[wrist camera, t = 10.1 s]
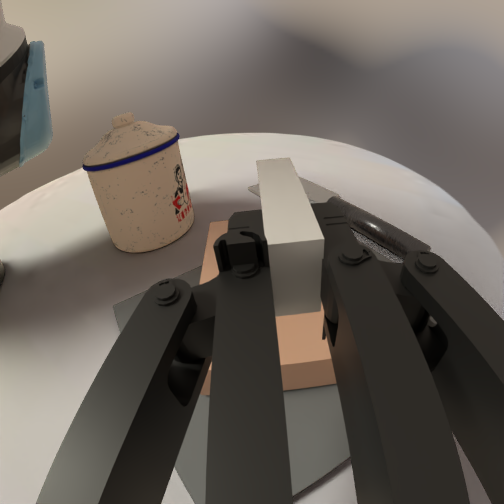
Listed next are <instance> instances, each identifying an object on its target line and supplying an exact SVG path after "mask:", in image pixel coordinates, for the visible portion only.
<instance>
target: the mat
mask: <svg viewBox="0 0 504 504" xmlns="http://www.w3.org/2000/svg"><path fill="white" fill-rule="evenodd" d="M357 241H358V240H357ZM358 243H359V244H360V245H363V246H365V247H367V248H369V249H370V250H371V251H372V252H373V253H374V254H375V256H376V257H377V259H378V260H380V261H385V262H392V261H391V260H389V259H387V258H386V257H384V256H383V255H381V254H380V253H378V252H376V251H375V250H373V249H372V248H370V247H368V246H367V245H365V244H363V243H362V242H360V241H358ZM393 263H394V262H393ZM201 272H202V266H200V267H198V268H196V269H194V270H191V271H189V272H187V273H185V274H182V275H180V276H178V277H176V278H177V279H181V280H185V281H186V282H187V283H188V284H190V287H194V286H197V285H199V284H200V278H201ZM147 291H148V290H147ZM147 291H145V292H143V293H140V294H138V295H136V296H134V297H131V298H129V299H127V300H125V301H123V302H120V303H118V304H116V305H114V306H113V308H114V312H115V316H116V319H117V323H118V326H119V330H120V333H121V332H122V330H123V329H124V327H125V325H126V324H127V322H128V320H129V319H130V317H131V315H132V314H133V312H134V310H135V309H136V307H137V306H138V304H139V302H140V301H141V299H142V298H143V296H144V294H145V293H146V292H147ZM430 320H431V321H432V322H433V323H434V324H437V322H436V321H435V320H434V319H433V318H432V316H431V317H430ZM283 394H284V404H285V415H286V425H287V436H288V447H289V459H290V470H291V483H292V495H293V496H295V495H296V494H298V493H299V492H301V491H303V490H304V489H306V488H307V487H309V486H310V485H312V484H313V483H315V482H316V481H318V480H319V479H321V478H322V477H324V476H325V475H327V474H328V473H329V472H331V471H332V470H334V469H335V468H336V467H338V466H339V465H340V464H342V463H343V462H344V461H346V460H347V459H348V458H349V457H350V451H349V445H348V439H347V434H346V428H345V423H344V417H343V412H342V407H341V402H340V397H339V392H338V387H337V383H336V384H330V385H323V386H316V387H309V388H301V389H293V390H284V391H283ZM209 398H210V395H201V394H200V395H199V398H198V401H197V404H196V407H195V409H194V412H193V415H192V418H191V421H190V423H189V426H188V429H187V432H186V435H185V437H184V440H183V443H182V446H181V449H180V452H179V454H178V457H177V460H176V463H175V466H174V467H175V469H176V471H177V473H178V475H179V476H180V478H181V480H182V482H183V484H184V485H185V487H186V489H187V491H188V493H189V494H190V496H191V498H192V499H193V501H194V503H195V504H205V495H206V462H207V437H208V417H209Z"/></svg>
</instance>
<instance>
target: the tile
mask: <svg viewBox="0 0 504 504" xmlns="http://www.w3.org/2000/svg"><path fill="white" fill-rule="evenodd" d="M227 230H228V220H225V221H217V222H210V226H209V232H208V237H207V243H206V248H205V254H204V260H203V266H202V272H201V278H200V284H203V283H206V282H208V281H210V280H212V279H213V278H215V277H216V276H217V275H218V274H219V270H218V265H217V261H216V257H215V253H214V248H213V245H214V243H215V241H216V240H217V239H218V238H219V237H220V236H221V235H223V234H225V233H227ZM200 284H199V285H200ZM323 320H324V309H323V305H322V301H321V311H319V312H312V313H303V314H295V315H286V316H277V317H276V326H277V335H278V345H279V354H280V364H281V374H282V384H283V391H284V390H293V389H301V388H309V387H316V386H323V385H330V384H336V383H337V382H336V378H335V373H334V368H333V364H332V359H331V355H330V350H329V346H328V342H327V337H326V339H325V340H322V331H323ZM211 366H212V362H211V364H210V367H209V370H208V373H207V376H206V378H205V381H204V384H203V387H202V390H201V393H200V394H201V395H210V382H211Z"/></svg>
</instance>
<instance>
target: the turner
mask: <svg viewBox="0 0 504 504" xmlns="http://www.w3.org/2000/svg"><path fill="white" fill-rule="evenodd" d="M298 177H299V176H298ZM299 179H300V182H301V184H302V186H303V189H304V191H305V193H306V196H307V198H308V200H309V203H310V204H313V203H324V202H331V203H332V204H334V205H335V206H337V207H338V208H340V210H341V212H342V214H343V216H344V217H345V219H346V221H347V224H349V226H350V227H351V228H353V229H355V230H356V231H358V232H360V233H362V234H363V235H365V236H367V237H368V238H370V239H372V240H373V241H375V242H377V243H379V244H380V245H382V246H384V247H385V248H387V249H388V250H390V251H392V252H393V253H395V254H397V255H398V256H400V257H401V258H403V259H405V257H406V255H407V254H408V253H410V252H412V251H416V250H424V251H429V252H430V249H431V248H430V246H428V245H427V244H425V243H423V242H421V241H420V240H418V239H416V238H414V237H413V236H411V235H409V234H407V233H405V232H404V231H402V230H400V229H398V228H396V227H395V226H393V225H391V224H389V223H387V222H385V221H383V220H382V219H380V218H378V217H376V216H374V215H372V214H370V213H368V212H366V211H364V210H362V209H360V208H358V207H356V206H354V205H352V204H350V203H348V202H346V201H344V200H342V199H340V198H339V195H338V194H336V193H334V192H332V191H330V190H328V189H325V188H323V187H321V186H319V185H317V184H314V183H312V182H310V181H308V180H305V179H303V178H301V177H299ZM248 190H249V191H251V192H253V193H255V194H256V195H258V196H260V188H259V184H257V185H254V186H251V187H248Z"/></svg>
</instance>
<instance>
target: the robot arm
mask: <svg viewBox="0 0 504 504" xmlns="http://www.w3.org/2000/svg"><path fill="white" fill-rule="evenodd" d="M52 136H53V132H52V123H51V114H50V106H49V97H48V87H47V76H46V63H45V51H44V43H43V42H42V41H37V42H35V41H33V42H30V44H29V45H28V44H27V41H26V37H25V32H24V30H23V28H21V27H18V26H15V25H11V24H8V23H6V22H5V20H4V15H3V9H2V3H1V0H0V176H2V175H4V174H6V173H8V172H10V171H12V170H13V169H15V168H17V167H21V166H23V164H24V163H25V162H26V161H28V160H30V159H31V158H33V157H35V156H37V155H39V154H41V153H42V152H44V151H45V150H46V149H47V148H48V146H49V144H50V143H51V140H52ZM256 162H257V171H258V180H259V188H260V197H261V206H262V210H253V211H244V212H235V213H234V214H233V215H232V216H231V218H230V219H229V220H228V230H227V233H225V234H223V235H221V236H220V237H219V238H218V239H217V240H216V241H215V243H214V245H213V248H214V253H215V257H216V261H217V265H218V270H219V274H218V275H217V276H216V277H215V278H213V279H212V280H210V281H208V282H206V283H203V284H200V285H197V286H194V287H190V284H188V283H187V282H186V281H185V280H181V279H177V278H174V279H166V280H163V281H160V282H158V283H156V284H155V285H153V286H151V287H150V288H149V290H148V291H147V292H146V293H145V294H144V296H143V298H142V299H141V301H140V302H139V304H138V306H137V307H136V309H135V310H134V312H133V314H132V315H131V317H130V319H129V320H128V322H127V324H126V325H125V327H124V329H123V330H122V332H121V334H120V335H119V337H118V339H117V340H116V342H115V344H114V346H113V347H112V349H111V351H110V353H109V354H108V356H107V358H106V360H105V361H104V363H103V365H102V367H101V368H100V370H99V372H98V374H97V376H96V378H95V379H94V381H93V383H92V385H91V387H90V389H89V390H88V392H87V394H86V396H85V398H84V400H83V402H82V404H81V406H80V408H79V410H78V412H77V414H76V416H75V417H74V419H73V421H72V424H71V426H70V428H69V430H68V432H67V434H66V436H65V438H64V440H63V442H62V444H61V446H60V448H59V451H58V453H57V455H56V457H55V459H54V462H53V464H52V466H51V468H50V471H49V473H48V475H47V478H46V480H45V482H44V485H43V487H42V489H41V492H40V494H39V497H38V499H37V502H36V504H161V502H162V499H163V497H164V494H165V491H166V488H167V485H168V482H169V480H170V477H171V474H172V471H173V468H174V466H175V463H176V460H177V457H178V454H179V452H180V449H181V446H182V443H183V440H184V437H185V435H186V432H187V429H188V426H189V423H190V421H191V418H192V415H193V412H194V409H195V407H196V404H197V401H198V398H199V395H200V393H201V390H202V387H203V384H204V381H205V378H206V376H207V373H208V370H209V367H210V364H211V362H212V366H211V382H210V398H209V417H208V437H207V462H206V495H205V504H293V495H292V483H291V470H290V459H289V447H288V436H287V425H286V415H285V404H284V394H283V384H282V374H281V364H280V354H279V345H278V335H277V326H276V317H277V316H286V315H295V314H303V313H312V312H319V311H321V301H322V305H323V309H324V320H323V331H322V340H325V339H326V337H327V342H328V346H329V350H330V355H331V359H332V364H333V368H334V373H335V378H336V382H337V387H338V392H339V397H340V402H341V407H342V412H343V417H344V423H345V428H346V434H347V439H348V445H349V451H350V457H351V463H352V469H353V475H354V482H355V489H356V496H357V503H358V504H470V503H469V498H468V493H467V488H466V483H465V479H464V475H463V471H462V467H461V463H460V459H459V455H458V452H457V448H456V445H455V441H454V438H453V434H454V436H455V437H456V439H457V441H458V442H459V444H460V446H461V447H462V449H463V451H464V453H465V454H466V456H467V458H468V460H469V461H470V463H471V465H472V467H473V469H474V470H475V472H476V474H477V476H478V478H479V480H480V482H481V483H482V485H483V487H484V489H485V491H486V493H487V495H488V497H489V499H490V501H491V503H492V504H504V321H503V320H502V319H501V318H500V316H499V315H498V314H497V313H496V312H495V311H494V310H493V309H492V308H491V307H490V306H489V304H488V303H487V302H486V301H485V300H484V299H483V298H482V297H481V296H480V295H479V294H478V293H477V292H476V291H475V290H474V289H473V288H472V287H471V286H470V285H469V284H468V283H467V282H466V281H465V280H464V279H463V278H462V277H461V276H460V275H459V274H458V273H457V272H456V271H455V270H454V269H453V268H452V267H451V266H450V265H449V264H447V263H446V262H445V261H444V260H443V259H442V258H441V257H439V256H438V255H436V254H434V253H432V252H429V251H424V250H416V251H412V252H410V253H408V254H407V255H406V257H405V259H404V262H403V264H402V263H393V262H385V261H380V260H378V259H377V257H376V256H375V254H374V253H373V252H372V251H371V250H370V249H369V248H367V247H365V246H363V245H360V244H359V243H358V241H357V239H356V237H355V235H354V234H353V232H352V230H351V228H350V226H349V224H347V221H346V219H345V217H344V216H343V214H342V212H341V210H340V208H338V207H337V206H335V205H334V204H332V203H331V202H324V203H313V204H310V203H309V200H308V198H307V196H306V193H305V191H304V189H303V186H302V184H301V182H300V179H299V177H298V175H297V173H296V170H295V168H294V166H293V164H292V161H291V159H290V158H279V159H268V160H259V161H256ZM4 273H5V268H4V265H3V264H2V262H1V260H0V285H1V283H2V280H3V277H4ZM431 316H432V318H433V319H434V320H435V321H436V322H437V324H434V323H433V322H432V321H431V320H430V317H431ZM452 432H453V434H452Z"/></svg>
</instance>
